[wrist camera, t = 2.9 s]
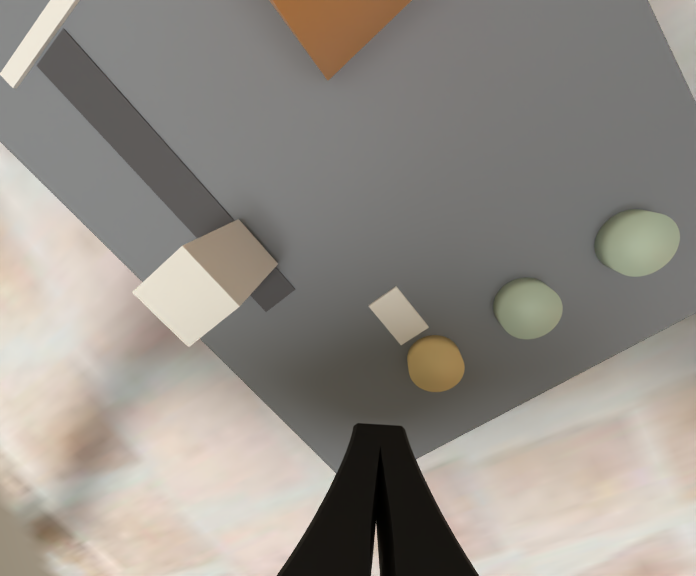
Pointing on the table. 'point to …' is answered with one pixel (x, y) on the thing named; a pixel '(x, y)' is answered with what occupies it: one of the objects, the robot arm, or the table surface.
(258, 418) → the table surface
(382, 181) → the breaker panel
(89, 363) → the table surface
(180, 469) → the table surface
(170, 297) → the switch
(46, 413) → the table surface
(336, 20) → the cap
